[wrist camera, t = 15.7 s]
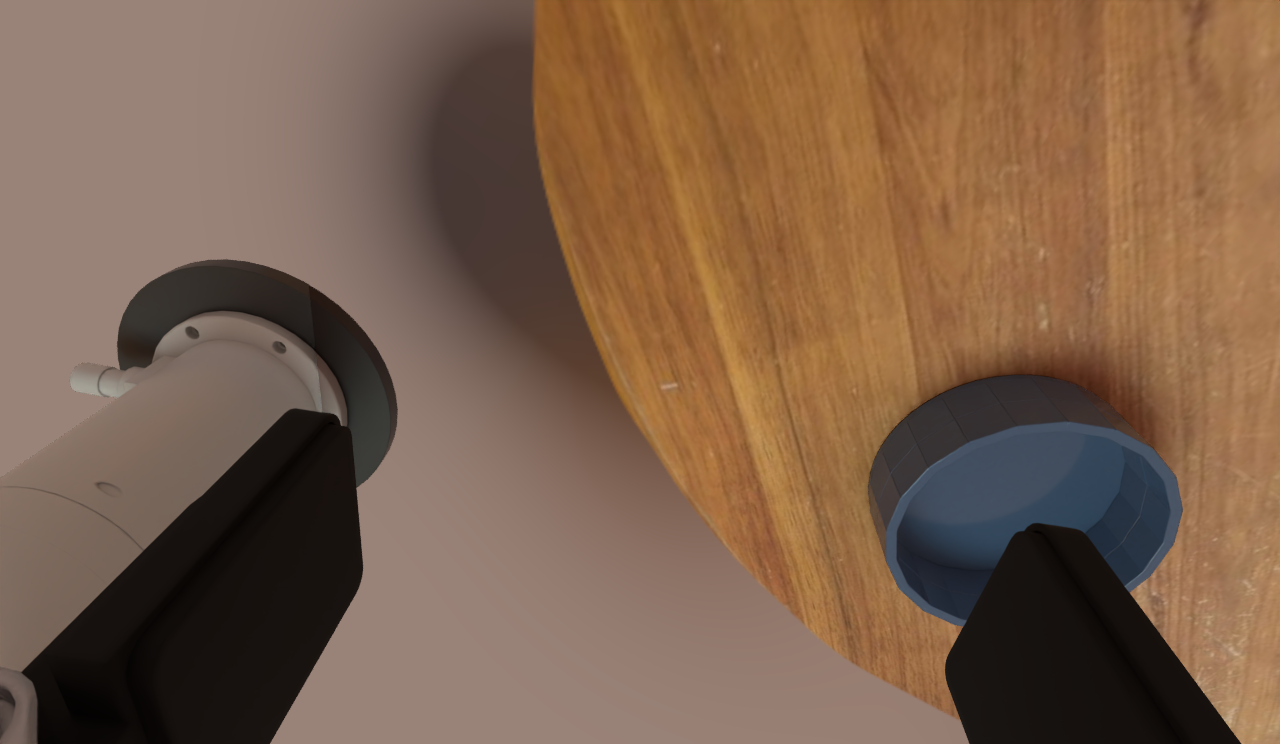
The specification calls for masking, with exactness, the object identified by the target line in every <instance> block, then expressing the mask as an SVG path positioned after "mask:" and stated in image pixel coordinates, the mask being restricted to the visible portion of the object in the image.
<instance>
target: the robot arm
mask: <svg viewBox="0 0 1280 744" xmlns="http://www.w3.org/2000/svg"><path fill="white" fill-rule="evenodd" d="M70 385H71V388H72V389H73V390H74V391H75V392H80V393H86V394H92V395H98V396H103V397H110V396H112V397H117V399H115V400H114V401H113V402H111V403H110V404H108V405H107V406H105V407H104V408H102V409H101V410H99V411H98V412H96V413H95V414H94V415H92V416H91V417H89V418H88V419H86V420H85V421H83V422H82V423H80V424H79V425H77V426H76V427H74V428H73V429H72V430H70V431H68V432H67V433H66V434H64V435H63V436H61V437H60V438H58V439H57V440H55V441H54V442H52V443H51V444H50V445H48V446H47V447H45V448H44V449H42V450H41V451H39V452H38V453H36V454H35V455H33V456H32V457H30V458H29V459H27V460H26V461H24V462H23V463H22V464H20V465H19V466H17V467H16V468H14V469H13V470H11V471H10V472H8V473H7V474H6V475H4V476H2V477H1V478H0V744H270V743H271V741H272V739H273V737H274V736H275V734H276V732H277V730H278V729H279V727H280V725H281V723H282V721H283V720H284V718H285V716H286V715H287V713H288V711H289V710H290V708H291V706H292V704H293V702H294V701H295V699H296V697H297V696H298V694H299V692H300V690H301V689H302V687H303V685H304V683H305V682H306V680H307V678H308V676H309V675H310V673H311V671H312V669H313V668H314V666H315V664H316V662H317V661H318V659H319V657H320V655H321V654H322V652H323V650H324V648H325V647H326V645H327V643H328V641H329V640H330V638H331V636H332V634H333V633H334V631H335V629H336V627H337V626H338V624H339V622H340V621H341V619H342V617H343V615H344V613H345V612H346V610H347V608H348V607H349V605H350V603H351V601H352V600H353V598H354V596H355V594H356V592H357V590H358V588H359V585H360V582H361V579H362V573H363V560H362V549H361V536H360V526H359V514H358V502H357V490H356V479H355V467H354V456H353V444H352V435H351V431H350V429H349V428H348V427H347V424H348V423H347V407H346V403H345V399H344V395H343V392H342V390H341V388H340V386H339V383H338V381H337V379H336V377H335V376H334V374H333V373H332V371H331V370H330V368H329V367H328V366H327V364H326V363H325V362H324V360H323V359H322V358H321V357H320V356H319V355H318V354H317V353H316V352H315V351H314V350H313V349H312V348H311V347H310V346H309V345H307V344H306V343H305V342H304V341H303V340H301V339H300V338H299V337H298V336H296V335H295V334H293V333H291V332H290V331H288V330H286V329H285V328H283V327H281V326H280V325H278V324H275V323H273V322H270V321H268V320H266V319H263V318H261V317H258V316H254V315H250V314H246V313H242V312H232V311H215V312H205V313H202V314H199V315H196V316H193V317H190V318H189V319H187V320H185V321H184V322H182V323H180V324H178V325H177V326H175V327H174V328H173V329H171V330H170V331H169V332H168V333H167V334H166V335H164V336H163V338H162V340H161V341H160V343H159V344H158V346H157V347H156V350H155V353H154V357H153V360H152V364H151V365H149V366H148V367H146V368H141V367H135V366H134V367H132V368H129V369H127V370H126V371H124V370H118V369H116V368H114V367H109V366H103V365H97V364H91V363H81V364H79V365H78V366H76V367H75V368H74V370H73V371H72V373H71V376H70ZM945 675H946V681H947V684H948V687H949V690H950V693H951V695H952V698H953V701H954V703H955V706H956V709H957V711H958V714H959V717H960V719H961V722H962V725H963V727H964V730H965V733H966V735H967V738H968V741H969V744H1241V743H1240V741H1239V740H1238V739H1237V737H1236V736H1235V735H1234V733H1233V732H1232V731H1231V729H1230V728H1229V727H1228V725H1227V724H1226V722H1225V721H1224V720H1223V718H1222V717H1221V716H1220V714H1219V713H1218V712H1217V710H1216V709H1215V708H1214V706H1213V705H1212V704H1211V702H1210V701H1209V700H1208V698H1207V697H1206V695H1205V694H1204V693H1203V691H1202V690H1201V689H1200V687H1199V686H1198V685H1197V683H1196V682H1195V681H1194V679H1193V678H1192V677H1191V675H1190V674H1189V673H1188V671H1187V670H1186V668H1185V667H1184V666H1183V664H1182V663H1181V662H1180V660H1179V659H1178V658H1177V656H1176V655H1175V654H1174V652H1173V651H1172V650H1171V648H1170V647H1169V645H1168V644H1167V643H1166V641H1165V640H1164V639H1163V637H1162V636H1161V635H1160V633H1159V632H1158V631H1157V629H1156V628H1155V627H1154V625H1153V624H1152V623H1151V621H1150V620H1149V618H1148V617H1147V616H1146V614H1145V613H1144V612H1143V610H1142V609H1141V608H1140V606H1139V605H1138V604H1137V602H1136V601H1135V600H1134V598H1133V597H1132V596H1131V594H1130V593H1129V591H1128V590H1127V589H1126V587H1125V586H1124V585H1123V583H1122V582H1121V581H1120V579H1119V578H1118V577H1117V575H1116V574H1115V573H1114V571H1113V570H1112V569H1111V567H1110V566H1109V564H1108V563H1107V562H1106V560H1105V559H1104V558H1103V556H1102V555H1101V554H1100V552H1099V551H1098V550H1097V548H1096V547H1095V546H1094V544H1093V543H1092V542H1091V540H1090V539H1089V537H1088V536H1087V535H1086V534H1085V533H1084V532H1083V531H1081V530H1078V529H1075V528H1068V527H1062V526H1056V525H1049V524H1043V523H1032V524H1031V525H1029V526H1028V527H1027V528H1026V529H1025V530H1024V531H1018V532H1017V533H1015V534H1014V535H1013V537H1012V538H1011V540H1010V541H1009V543H1008V545H1007V547H1006V549H1005V551H1004V553H1003V554H1002V556H1001V558H1000V560H999V562H998V564H997V565H996V567H995V569H994V571H993V573H992V575H991V577H990V578H989V580H988V582H987V584H986V586H985V588H984V590H983V591H982V593H981V595H980V597H979V599H978V601H977V602H976V604H975V606H974V608H973V610H972V612H971V614H970V615H969V617H968V619H967V621H966V623H965V625H964V627H963V628H962V630H961V632H960V634H959V636H958V638H957V640H956V641H955V643H954V645H953V647H952V649H951V651H950V652H949V654H948V657H947V659H946V665H945Z"/></svg>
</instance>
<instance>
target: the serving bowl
mask: <svg viewBox="0 0 1280 744" xmlns="http://www.w3.org/2000/svg"><path fill="white" fill-rule="evenodd" d="M868 496H869V503H870V513H871V516H872V519H873V522H874V525H875V528H876V531H877V535H878V538H879V541H880V544H881V547H882V550H883V553H884V556H885V559H886V562H887V564H888V567H889V569H890V571H891V573H892V575H893V577H894V579H895V581H896V584H897V586H898V588H899V589H900V590H901V591H902V592H903V593H904V594H905V595H906V596H908V597H909V598H910V599H911V600H912V601H913V602H914V603H915V604H916V605H917V606H919V607H920V608H921V609H922V610H923V611H925V612H927V613H929V614H932V615H934V616H936V617H938V618H941V619H943V620H945V621H947V622H950V623H952V624H954V625H958V626H963V627H964V625H965V623H966V621H967V619H968V617H969V615H970V614H971V612H972V610H973V608H974V606H975V604H976V602H977V601H978V599H979V597H980V595H981V593H982V591H983V590H984V588H985V586H986V584H987V582H988V580H989V578H990V577H991V575H992V573H993V571H994V569H995V567H996V565H997V564H998V562H999V560H1000V558H1001V556H1002V554H1003V553H1004V551H1005V549H1006V547H1007V545H1008V543H1009V541H1010V540H1011V538H1012V537H1013V535H1014V534H1015V533H1017V532H1018V531H1024V530H1025V529H1026V528H1027V527H1028V526H1029V525H1031V524H1032V523H1043V524H1049V525H1056V526H1062V527H1068V528H1075V529H1078V530H1081V531H1083V532H1084V533H1085V534H1086V535H1087V536H1088V537H1089V539H1090V540H1091V542H1092V543H1093V544H1094V546H1095V547H1096V548H1097V550H1098V551H1099V552H1100V554H1101V555H1102V556H1103V558H1104V559H1105V560H1106V562H1107V563H1108V564H1109V566H1110V567H1111V569H1112V570H1113V571H1114V573H1115V574H1116V575H1117V577H1118V578H1119V579H1120V581H1121V582H1122V583H1123V585H1124V586H1125V587H1126V589H1127V590H1128V591H1129V592H1131V591H1132V590H1133V589H1134V588H1136V587H1137V586H1138V585H1140V584H1141V583H1142V582H1143V581H1145V580H1146V579H1147V578H1149V577H1150V576H1151V574H1152V573H1153V572H1154V571H1155V569H1156V568H1157V567H1158V565H1159V564H1160V562H1161V561H1162V560H1163V558H1164V557H1165V556H1166V554H1167V553H1168V551H1169V550H1170V549H1171V547H1172V546H1173V543H1174V542H1175V538H1176V534H1177V531H1178V527H1179V523H1180V520H1181V516H1182V512H1183V507H1182V502H1181V498H1180V493H1179V488H1178V483H1177V478H1176V476H1175V474H1174V473H1173V472H1172V471H1171V469H1170V468H1169V467H1168V466H1167V464H1166V463H1165V462H1164V461H1163V460H1162V458H1161V457H1160V456H1159V455H1158V453H1157V452H1156V451H1155V450H1154V449H1153V448H1152V447H1151V446H1150V445H1149V444H1148V443H1147V442H1146V441H1145V440H1144V439H1143V438H1142V437H1141V436H1140V435H1139V434H1138V432H1137V431H1136V430H1135V429H1134V428H1133V427H1132V426H1130V424H1129V423H1128V422H1127V421H1126V420H1125V419H1124V418H1123V417H1122V416H1121V415H1120V414H1119V413H1118V412H1117V411H1116V410H1115V409H1114V408H1113V407H1112V406H1111V405H1110V404H1108V403H1107V402H1105V401H1104V400H1102V399H1101V398H1099V397H1098V396H1097V395H1095V394H1094V393H1092V392H1090V391H1088V390H1086V389H1085V388H1083V387H1081V386H1078V385H1075V384H1073V383H1070V382H1067V381H1064V380H1060V379H1056V378H1051V377H1045V376H1036V375H1008V376H999V377H992V378H987V379H982V380H978V381H974V382H971V383H968V384H965V385H962V386H958V387H956V388H954V389H951V390H949V391H947V392H945V393H942V394H940V395H938V396H937V397H935V398H933V399H931V400H930V401H928V402H926V403H924V404H923V405H922V406H920V407H919V408H917V409H916V410H915V411H913V412H912V413H911V414H909V415H908V416H907V417H906V418H905V419H904V420H903V421H902V422H901V423H899V424H898V426H897V427H896V428H895V429H894V430H893V431H892V432H891V434H890V435H889V436H888V437H887V439H886V440H885V442H884V443H883V445H882V446H881V448H880V450H879V452H878V454H877V456H876V458H875V460H874V463H873V466H872V469H871V472H870V477H869V484H868Z"/></svg>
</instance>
